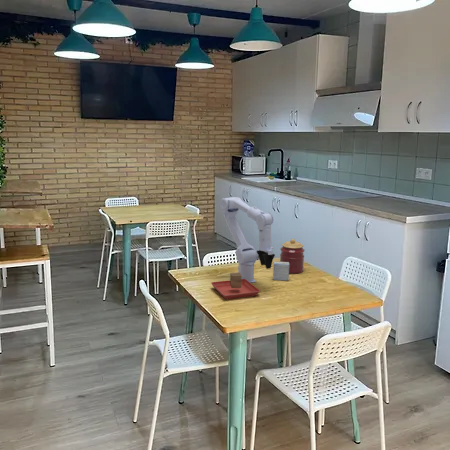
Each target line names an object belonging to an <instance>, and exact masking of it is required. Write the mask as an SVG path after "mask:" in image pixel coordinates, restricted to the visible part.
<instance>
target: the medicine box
mask: <svg viewBox="0 0 450 450" xmlns="http://www.w3.org/2000/svg"><path fill="white" fill-rule="evenodd" d="M272 269H273V271H272V273H273V274H272V275H273V276H272V280H273V281H290V280H289V279H290V273H289V262H280V261H273V268H272Z"/></svg>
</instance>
